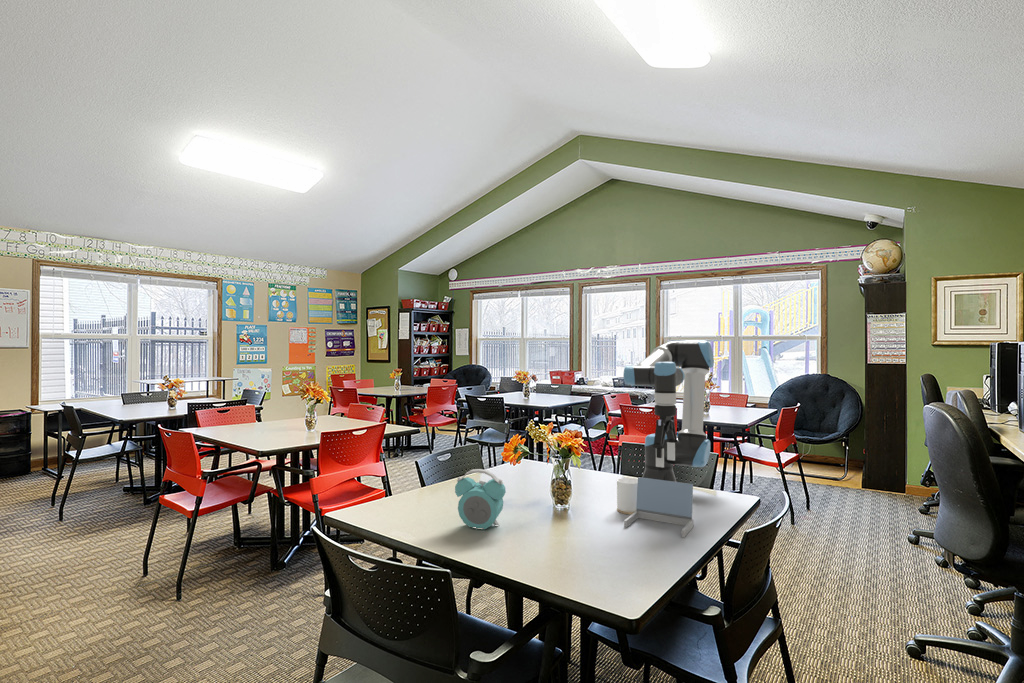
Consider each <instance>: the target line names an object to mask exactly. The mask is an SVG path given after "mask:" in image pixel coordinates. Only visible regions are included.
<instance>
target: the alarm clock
mask: <svg viewBox="0 0 1024 683" xmlns="http://www.w3.org/2000/svg"><path fill="white" fill-rule="evenodd" d="M472 473H473V474H474V473H476V474H477V473H478V474H484V475H487V476H489V477H491V478H492V479H489V480H488V481H487V482H486V481H483V480H479V482H476V480H474V479H473V478H470V477H466V476H468V475H469V474H472ZM454 486H455V487H454V493H455V495H456V497H457V498H459V497H460V498H459V500H458V504H457V510H458V511H457V512H458V515H459V518H460V519H461V521H462V522H463V523H464V524H465V525H466V526H468V527H469V528H470V527H476V528H484V529H483V530H486V529H488V528H490V527H491V526H494V525H499V522H498V521H497V519H498V517H499V515H500V514H501V512H502V510H503V508H504V499H503V498H504V496H505V495H506V493H507V492H506V486H505V484H504V482H503V480H502V479H501V478H498V477H497V476H496V474H494V473H493V472H491V471H489V470H487V469H482V468H474V469H470V470H469V471H467V472H466V473H465V474H464V475H463V476H462V477H461V476H459V477H458V478H457V480H456V484H455V485H454ZM499 526H500V525H499Z"/></svg>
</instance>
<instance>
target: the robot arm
mask: <svg viewBox="0 0 1024 683" xmlns="http://www.w3.org/2000/svg"><path fill="white" fill-rule="evenodd" d="M714 358H715V357H714V351H713V347H712V345H711V343H710V342H709V341H708V340H700V339H698V340H672V341H668V342H664V343H661V344H660V345H658V346H656V347H655V348H653V349H652V351H651V352H650V354H649V355H648V356H647V357H645V358H644V359H643V360H642V361H640V362H639V363H638V364H636V365H627V366H625V368H624V370H623V381H624V383H625V385H629V386H649V387H650V386H651V387H653V386H654V394H653V395H652V396H653V398H654V403H655V405H654V415H655V416H656V417H657V416H658V417H659V419H656V420H655V422H656V424H655V432H654V433H651V434H647V435H646V436H645V438H644V471H643V474H642V477H641V478H649V479H657V480H665V481H673V482H678V481H677V479H676V475H675V472H674V469H673V468H674V466H675V465H676V466H684V467H692V468H704V467H706V465H707V464H708V461H709V459H710V455H711V444H712V443H711V440H710V439H708V438H707V434H706V433H705V431H704V416H705V414H704V412H705V393H706V392H705V391H706V390H705V389H706V388H705V387H706V375H708V374H709V373H710V369H711V368H713V367H714V366H715V365H714V363H715V362H714V361H715V360H714ZM682 383H683V396H682V398H683V399H682V400H683V401H682V417H681V430H679V431H678V432H677V429H676V425H675V416H677V405H676V404H677V387H678V386H681V384H682Z"/></svg>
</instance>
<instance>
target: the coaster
mask: <svg viewBox="0 0 1024 683" xmlns="http://www.w3.org/2000/svg"><path fill="white" fill-rule="evenodd" d="M616 510H617V512H618V513H621V514H624V515H629V516H630V515H632V514H633V513H634V512H623V511H620V510H619V509H618V508H617V507H616Z"/></svg>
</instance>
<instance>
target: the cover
mask: <svg viewBox="0 0 1024 683" xmlns="http://www.w3.org/2000/svg"><path fill="white" fill-rule="evenodd" d="M637 479H638V486H637V506H636V511H639V512H645V513H651V514H658V515H664V516H670V517H677V518H683V519H689V520H693V500H694V499H693V498H694V494H693V492H694V483H686V482H679V481H677V482H673V481H665V480H657V479H649V478H642V477H639V476H638V477H637Z"/></svg>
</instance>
